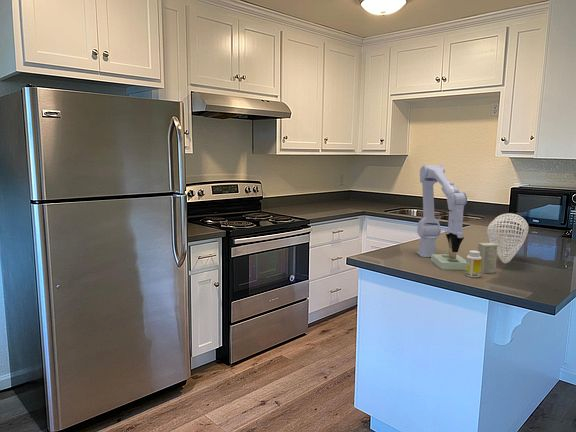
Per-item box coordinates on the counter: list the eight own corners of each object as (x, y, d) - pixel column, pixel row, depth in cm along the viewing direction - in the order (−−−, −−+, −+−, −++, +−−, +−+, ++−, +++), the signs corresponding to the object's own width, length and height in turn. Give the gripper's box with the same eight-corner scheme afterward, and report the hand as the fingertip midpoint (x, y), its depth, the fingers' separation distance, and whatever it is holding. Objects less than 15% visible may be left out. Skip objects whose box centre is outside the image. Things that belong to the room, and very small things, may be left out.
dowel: (448, 257, 189) (448, 237, 188) (455, 257, 189) (456, 237, 187) (449, 258, 186) (450, 238, 185) (456, 259, 186) (457, 238, 184)
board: (431, 260, 200) (431, 254, 200) (457, 260, 200) (457, 254, 199) (441, 269, 184) (441, 262, 184) (469, 270, 184) (470, 263, 183)
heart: (490, 255, 212) (494, 210, 209) (526, 259, 204) (530, 213, 201) (482, 267, 189) (486, 217, 186) (522, 272, 181) (526, 220, 177)
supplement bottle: (482, 275, 175) (484, 251, 174) (477, 278, 171) (479, 253, 170) (468, 273, 179) (470, 249, 177) (463, 275, 175) (465, 251, 173)
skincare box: (490, 270, 184) (492, 242, 182) (495, 273, 179) (498, 244, 178) (476, 270, 183) (478, 242, 182) (481, 273, 179) (483, 244, 177)
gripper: (441, 217, 192) (439, 247, 194) (451, 222, 178) (449, 254, 180) (457, 218, 192) (455, 247, 194) (468, 223, 178) (466, 255, 180)
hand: (453, 251), depth 187 cm, fingers closed on dowel, 3 cm apart
